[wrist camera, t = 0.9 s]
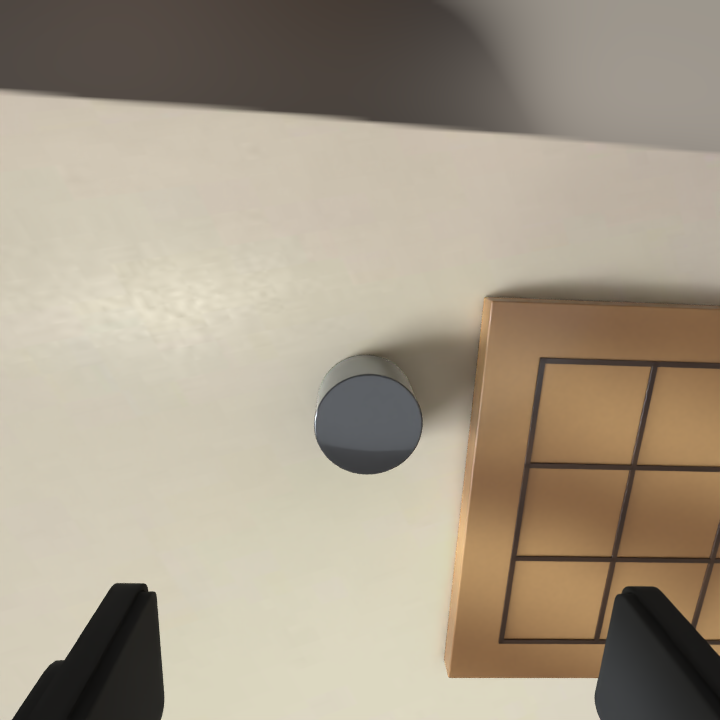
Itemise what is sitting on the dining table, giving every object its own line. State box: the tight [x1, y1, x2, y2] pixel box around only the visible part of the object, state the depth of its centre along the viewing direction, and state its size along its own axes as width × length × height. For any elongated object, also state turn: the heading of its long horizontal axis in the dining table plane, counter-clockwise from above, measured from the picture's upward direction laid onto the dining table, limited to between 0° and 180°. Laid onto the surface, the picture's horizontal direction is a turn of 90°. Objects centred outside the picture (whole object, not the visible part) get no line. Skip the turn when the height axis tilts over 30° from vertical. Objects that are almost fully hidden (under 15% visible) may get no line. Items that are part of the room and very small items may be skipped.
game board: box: [444, 297, 720, 678], centre depth 24 cm, size 20×20×1 cm
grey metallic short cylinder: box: [314, 355, 423, 474], centre depth 21 cm, size 4×4×3 cm
